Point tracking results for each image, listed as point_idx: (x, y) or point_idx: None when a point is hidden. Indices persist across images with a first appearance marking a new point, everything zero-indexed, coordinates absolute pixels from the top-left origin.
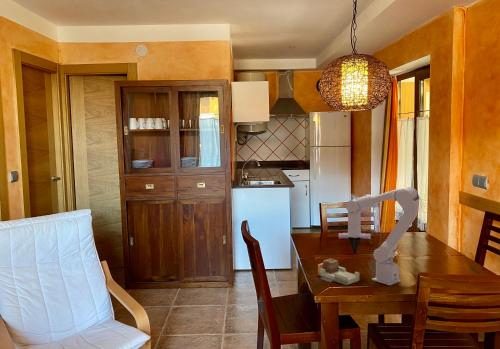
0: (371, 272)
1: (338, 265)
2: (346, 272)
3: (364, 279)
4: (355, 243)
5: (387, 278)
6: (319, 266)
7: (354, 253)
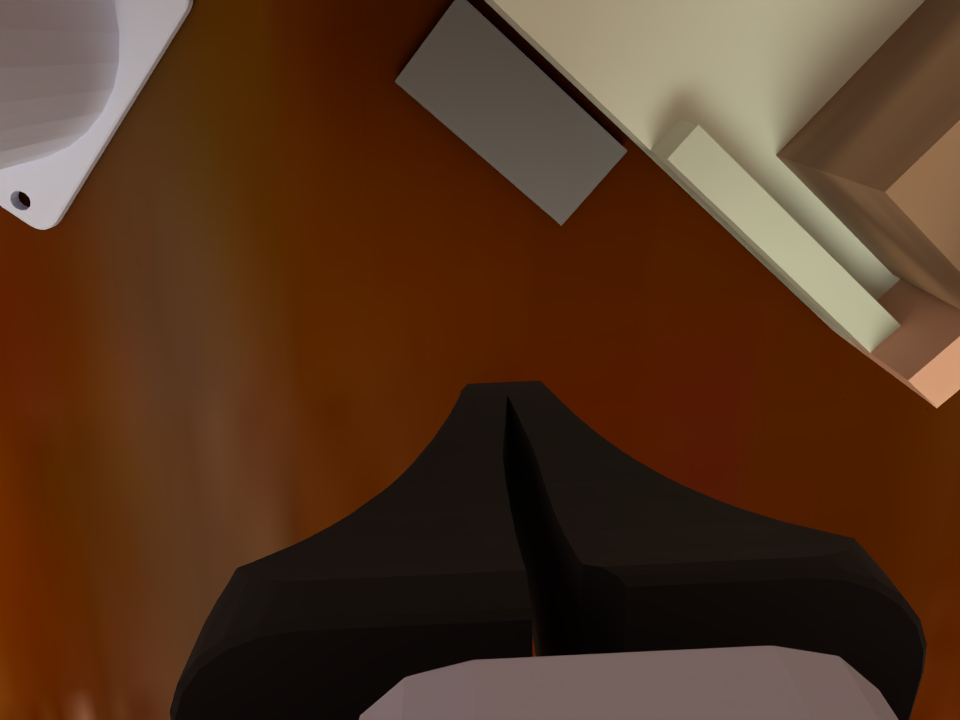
0: (237, 368)
1: (827, 173)
2: (641, 97)
3: (324, 18)
4: (496, 522)
5: None
6: None
7: (508, 382)
